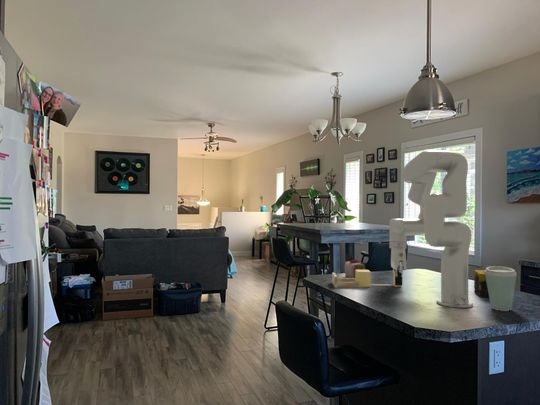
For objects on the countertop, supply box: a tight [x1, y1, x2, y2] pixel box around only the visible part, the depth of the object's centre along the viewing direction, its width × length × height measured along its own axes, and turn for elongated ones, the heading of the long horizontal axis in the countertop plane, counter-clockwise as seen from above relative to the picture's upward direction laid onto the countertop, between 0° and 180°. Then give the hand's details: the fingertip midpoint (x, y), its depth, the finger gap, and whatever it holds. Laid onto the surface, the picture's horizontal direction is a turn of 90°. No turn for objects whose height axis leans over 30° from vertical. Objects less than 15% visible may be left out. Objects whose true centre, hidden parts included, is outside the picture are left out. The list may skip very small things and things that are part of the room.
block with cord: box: [355, 269, 403, 288], centre depth 188 cm, size 6×20×7 cm, turn 87°
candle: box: [473, 269, 490, 299], centre depth 170 cm, size 10×10×10 cm
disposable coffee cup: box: [484, 265, 518, 312], centre depth 147 cm, size 11×11×15 cm
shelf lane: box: [331, 272, 360, 289], centre depth 189 cm, size 11×11×5 cm
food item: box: [344, 259, 366, 278], centre depth 207 cm, size 14×8×10 cm, turn 12°
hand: (397, 283), depth 188 cm, fingers closed on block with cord, 3 cm apart
